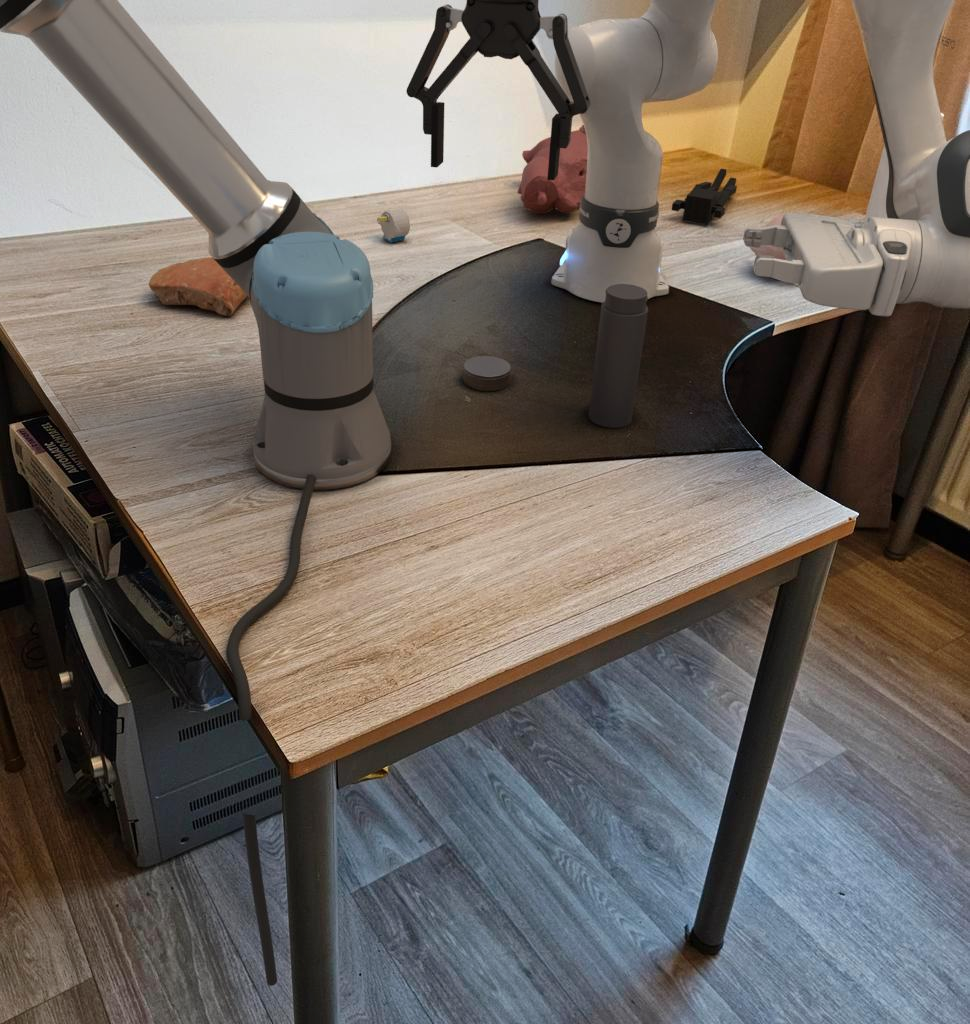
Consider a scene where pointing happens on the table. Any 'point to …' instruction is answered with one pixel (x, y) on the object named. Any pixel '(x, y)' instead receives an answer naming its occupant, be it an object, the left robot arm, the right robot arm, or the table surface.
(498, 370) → the lid
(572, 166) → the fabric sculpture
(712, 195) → the toy
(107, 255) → the table surface
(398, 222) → the electric motor
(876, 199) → the tall white tube
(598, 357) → the jar
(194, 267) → the ceramic shard
